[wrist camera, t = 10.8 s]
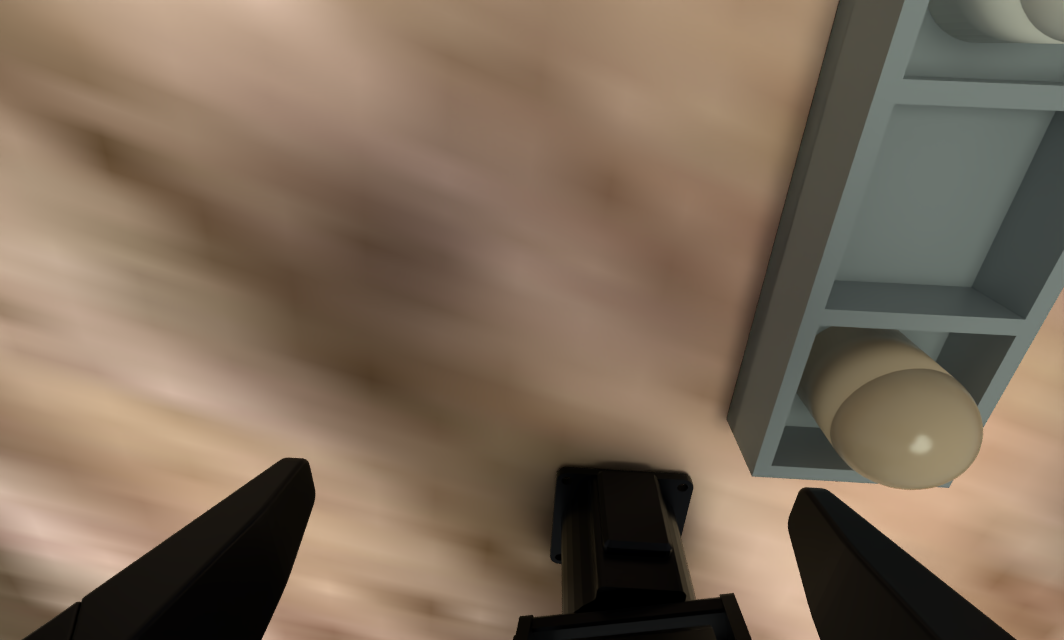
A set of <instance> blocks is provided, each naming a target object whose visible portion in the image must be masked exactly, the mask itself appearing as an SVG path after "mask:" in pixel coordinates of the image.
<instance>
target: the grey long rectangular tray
mask: <svg viewBox="0 0 1064 640" xmlns="http://www.w3.org/2000/svg"><path fill="white" fill-rule="evenodd" d="M929 1H930V0H840V2H839V5H838V9H837V13H836V16H835V20H834V24H833V27H832V31H831V35H830V39H829V42H828V46H827V50H826V53H825V57H824V61H823V64H822V68H821V72H820V76H819V79H818V83H817V87H816V90H815V94H814V98H813V101H812V105H811V109H810V113H809V116H808V120H807V124H806V127H805V131H804V135H803V138H802V142H801V146H800V150H799V153H798V157H797V161H796V164H795V168H794V172H793V175H792V179H791V183H790V187H789V190H788V194H787V198H786V201H785V205H784V209H783V212H782V216H781V220H780V223H779V227H778V231H777V235H776V238H775V242H774V246H773V249H772V253H771V257H770V260H769V264H768V268H767V272H766V275H765V279H764V283H763V286H762V290H761V294H760V297H759V301H758V305H757V309H756V312H755V316H754V320H753V323H752V327H751V331H750V334H749V338H748V342H747V346H746V349H745V353H744V357H743V360H742V364H741V368H740V371H739V375H738V379H737V383H736V386H735V390H734V394H733V397H732V401H731V405H730V408H729V412H728V416H727V421H728V423H729V426H730V428H731V430H732V432H733V435H734V437H735V439H736V441H737V444H738V446H739V448H740V450H741V453H742V455H743V457H744V459H745V462H746V464H747V466H748V468H749V471H750V473H751V475H752V476H755V477H772V478H789V479H806V480H824V481H841V482H858V483H875V482H873V481H871V480H869V479H867V478H865V477H863V476H862V475H860V474H859V473H857V472H856V471H854V470H853V469H852V468H851V467H849V466H848V465H847V464H846V463H845V462H844V461H843V460H842V459H841V457H840V456H839V455H838V454H837V452H836V451H835V449H834V448H833V446H832V445H831V443H830V442H829V441H828V439H827V438H826V436H825V435H824V433H823V432H822V430H821V429H820V427H819V426H818V424H817V423H816V421H815V420H814V418H813V417H812V415H811V414H810V412H809V411H808V409H807V408H806V406H805V405H804V403H803V402H802V400H801V399H800V397H799V396H798V394H797V393H796V392H797V389H798V386H799V383H800V380H801V377H802V374H803V371H804V368H805V365H806V362H807V359H808V357H809V354H810V351H811V348H812V345H813V342H814V339H815V336H816V335H817V334H819V333H820V332H822V331H823V330H825V329H827V328H829V327H831V326H839V327H858V328H877V329H897V330H899V331H900V332H901V333H902V334H904V335H905V336H906V337H907V338H908V339H910V340H911V341H912V342H913V343H914V344H915V345H917V346H918V347H919V348H920V349H921V350H922V351H924V352H925V353H926V354H927V355H928V356H929V357H931V358H932V359H933V360H934V361H935V362H936V363H938V364H939V365H940V366H941V367H942V368H943V369H945V370H946V371H947V372H948V373H949V374H950V375H952V376H953V377H954V378H955V379H956V380H957V381H959V382H960V383H961V384H962V385H963V386H964V387H965V388H966V390H967V391H968V392H969V393H970V395H971V396H972V398H973V399H974V401H975V403H976V405H977V407H978V409H979V411H980V415H981V418H982V423H983V427H984V425H985V424H986V422H987V420H988V418H989V417H990V415H991V413H992V411H993V410H994V408H995V406H996V404H997V403H998V401H999V399H1000V397H1001V396H1002V394H1003V392H1004V390H1005V389H1006V387H1007V385H1008V383H1009V382H1010V380H1011V378H1012V376H1013V375H1014V373H1015V371H1016V369H1017V368H1018V366H1019V364H1020V362H1021V361H1022V359H1023V357H1024V355H1025V354H1026V352H1027V350H1028V348H1029V347H1030V345H1031V343H1032V341H1033V340H1034V338H1035V336H1036V334H1037V333H1038V331H1039V329H1040V327H1041V326H1042V324H1043V322H1044V320H1045V319H1046V317H1047V315H1048V313H1049V312H1050V310H1051V308H1052V306H1053V305H1054V303H1055V301H1056V299H1057V298H1058V296H1059V294H1060V292H1061V291H1062V289H1063V287H1064V44H1032V43H973V42H966V41H962V40H959V39H956V38H954V37H952V36H950V35H949V34H947V33H946V32H945V31H943V30H942V29H941V28H940V27H939V26H938V25H937V23H936V22H935V20H934V19H933V17H932V16H931V13H930V11H929V8H928V4H929ZM952 481H953V480H952ZM952 481H950V482H948V483H946V484H943V485H940V486H937V487H944V488H949V487H950V485H951V483H952ZM875 484H878V483H875Z"/></svg>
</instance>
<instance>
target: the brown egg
mask: <svg viewBox="0 0 1064 640" xmlns="http://www.w3.org/2000/svg"><path fill="white" fill-rule="evenodd" d="M796 393H797V394H798V396H799V397H800V399H801V400H802V402H803V403H804V405H805V406H806V408H807V409H808V411H809V412H810V414H811V415H812V417H813V418H814V420H815V421H816V423H817V424H818V426H819V427H820V429H821V430H822V432H823V433H824V435H825V436H826V438H827V439H828V441H829V442H830V443H831V445H832V446H833V448H834V449H835V451H836V452H837V454H838V455H839V456H840V457H841V459H842V460H843V461H844V462H845V463H846V464H847V465H848V466H849V467H851V468H852V469H853V470H854V471H856V472H857V473H859V474H860V475H862V476H863V477H865V478H867V479H869V480H871V481H873V482H875V483H878V484H881V485H884V486H887V487H891V488H896V489H904V490H920V489H929V488H934V487H937V486H940V485H943V484H946V483H948V482H950V481H952V480H954V479H955V478H957V477H959V476H960V475H961V474H962V473H964V472H965V471H966V470H967V469H968V468H969V467H970V465H971V464H972V463H973V461H974V460H975V458H976V457H977V455H978V453H979V450H980V447H981V444H982V439H983V423H982V418H981V415H980V411H979V409H978V407H977V405H976V403H975V401H974V399H973V398H972V396H971V395H970V393H969V392H968V391H967V390H966V388H965V387H964V386H963V385H962V384H961V383H960V382H959V381H957V380H956V379H955V378H954V377H953V376H952V375H950V374H949V373H948V372H947V371H946V370H945V369H943V368H942V367H941V366H940V365H939V364H938V363H936V362H935V361H934V360H933V359H932V358H931V357H929V356H928V355H927V354H926V353H925V352H924V351H922V350H921V349H920V348H919V347H918V346H917V345H915V344H914V343H913V342H912V341H911V340H910V339H908V338H907V337H906V336H905V335H904V334H902V333H901V332H900V331H899V330H897V329H877V328H858V327H839V326H831V327H829V328H827V329H825V330H823V331H822V332H820V333H819V334H817V335H816V336H815V339H814V342H813V345H812V348H811V351H810V354H809V357H808V359H807V362H806V365H805V368H804V371H803V374H802V377H801V380H800V383H799V386H798V389H797V392H796Z"/></svg>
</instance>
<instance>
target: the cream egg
mask: <svg viewBox="0 0 1064 640" xmlns="http://www.w3.org/2000/svg"><path fill="white" fill-rule="evenodd" d="M928 8H929V11H930V13H931V16H932V17H933V19H934V20H935V22H936V23H937V25H938V26H939V27H940V28H941V29H942V30H943V31H945V32H946V33H947V34H949V35H950V36H952V37H954V38H956V39H959V40H962V41H966V42H973V43H1032V44H1064V0H930V1H929V4H928Z"/></svg>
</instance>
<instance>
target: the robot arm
mask: <svg viewBox="0 0 1064 640" xmlns="http://www.w3.org/2000/svg"><path fill="white" fill-rule="evenodd" d="M564 477H569V478H568V479H565V478H564ZM680 484H684V485H680ZM692 491H693V483H692V480H691V478H690V476H688V475H686V474H677V473H660V472H643V471H626V470H609V469H591V468H574V467H563V468H561V469H559V470H558V471H557V474H556V486H555V499H554V512H553V524H552V537H551V549H550V558H551V560H552V561H553V562H555V563H559V564H562V614H559V615H550V616H541V617H533V615H528V616H520V617H519V622H518V627H517V631H516V635H515V636H514V637H513V640H752V639H751V636H750V634H749V631H748V629H747V626H746V623H745V621H744V618H743V616H742V613H741V611H740V608H739V605H738V603H737V600H736V598H735V595H734V593H729V594H720V597H716V598H707V599H698V600H696V597H695V593H694V589H693V585H692V581H691V577H690V573H689V569H688V565H687V561H686V557H685V553H684V549H683V545H682V541H681V535H682V531H683V527H684V523H685V519H686V515H687V511H688V507H689V503H690V499H691V495H692ZM314 501H315V487H314V482H313V478H312V473H311V469H310V465H309V462H308V461H307V460H306V459H303V458H283V459H281V460H280V461H278V462H277V463H275V464H274V465H272V466H271V467H270V468H268V469H267V470H265V471H264V472H262V473H261V474H260V475H258V476H257V477H255V478H254V479H252V480H251V481H249V482H248V483H247V484H245V485H244V486H242V487H241V488H239V489H238V490H237V491H235V492H234V493H232V494H231V495H229V496H228V497H227V498H225V499H224V500H222V501H221V502H219V503H218V504H217V505H215V506H214V507H212V508H211V509H209V510H208V511H206V512H205V513H204V514H202V515H201V516H199V517H198V518H196V519H195V520H194V521H192V522H191V523H189V524H188V525H186V526H185V527H184V528H182V529H181V530H179V531H178V532H176V533H175V534H174V535H172V536H171V537H169V538H168V539H166V540H165V541H164V542H162V543H161V544H159V545H158V546H156V547H155V548H153V549H152V550H151V551H149V552H148V553H146V554H145V555H143V556H142V557H141V558H139V559H138V560H136V561H135V562H133V563H132V564H131V565H129V566H128V567H126V568H125V569H123V570H122V571H121V572H119V573H118V574H116V575H115V576H113V577H112V578H110V579H109V580H108V581H106V582H105V583H103V584H102V585H100V586H99V587H98V588H96V589H95V590H93V591H92V592H90V593H89V594H88V595H86V596H85V597H84V598H83V599H82V601H81V602H76V603H74V604H73V605H72V606H70V607H69V608H67V609H66V610H64V611H63V612H61V613H60V614H59V615H57V616H56V617H54V618H53V619H51V620H50V621H49V622H47V623H46V624H44V625H43V626H41V627H40V628H38V629H37V630H35V631H34V632H32V633H31V634H29V635H28V636H26V637H25V638H23V639H22V640H262V638H263V635H264V633H265V631H266V629H267V627H268V624H269V622H270V620H271V618H272V616H273V613H274V611H275V609H276V607H277V605H278V602H279V600H280V598H281V596H282V593H283V591H284V589H285V586H286V584H287V581H288V579H289V576H290V573H291V570H292V568H293V565H294V562H295V559H296V556H297V553H298V550H299V547H300V544H301V541H302V538H303V535H304V532H305V529H306V526H307V523H308V520H309V517H310V514H311V511H312V508H313V505H314ZM788 531H789V535H790V539H791V542H792V546H793V550H794V554H795V557H796V561H797V565H798V568H799V572H800V576H801V579H802V583H803V587H804V591H805V594H806V598H807V602H808V605H809V608H810V612H811V615H812V618H813V621H814V624H815V627H816V629H817V632H818V635H819V637H820V640H1016V639H1015V638H1014V637H1012V636H1011V635H1010V634H1009V633H1007V632H1006V631H1005V630H1004V629H1002V628H1001V627H1000V626H999V625H997V624H996V623H995V622H994V621H992V620H991V619H990V618H989V617H987V616H986V615H985V614H984V613H982V612H981V611H980V610H978V609H977V608H976V607H975V606H973V605H972V604H971V603H970V602H968V601H967V600H966V599H965V598H963V597H962V596H961V595H960V594H958V593H957V592H956V591H955V590H953V589H952V588H951V587H950V586H948V585H947V584H946V583H944V582H943V581H942V580H941V579H939V578H938V577H937V576H936V575H934V574H933V573H932V572H931V571H929V570H928V569H927V568H926V567H924V566H923V565H922V564H921V563H919V562H918V561H917V560H916V559H914V558H913V557H912V556H910V555H909V554H908V553H907V552H905V551H904V550H903V549H902V548H900V547H899V546H898V545H897V544H895V543H894V542H893V541H892V540H890V539H889V538H888V537H887V536H885V535H884V534H883V533H881V532H880V531H879V530H878V529H876V528H875V527H874V526H873V525H871V524H870V523H869V522H868V521H866V520H865V519H864V518H863V517H861V516H860V515H859V514H858V513H856V512H855V511H854V510H853V509H851V508H850V507H849V506H847V505H846V504H845V503H844V502H842V501H841V500H840V499H839V498H837V497H836V496H835V495H834V494H832V493H831V492H830V491H828V490H826V489H823V488H808V487H805V488H802V489H801V490H800V491H799V493H798V495H797V498H796V500H795V503H794V505H793V508H792V511H791V513H790V516H789V519H788Z"/></svg>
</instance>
